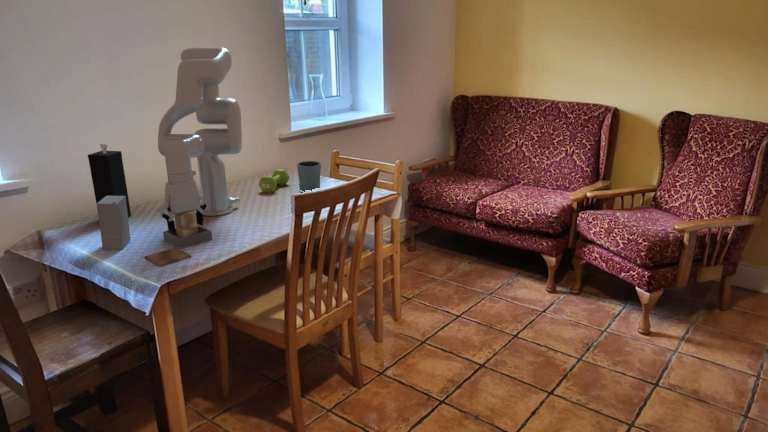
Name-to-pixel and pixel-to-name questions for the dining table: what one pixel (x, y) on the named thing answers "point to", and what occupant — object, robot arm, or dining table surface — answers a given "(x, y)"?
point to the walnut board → (167, 256)
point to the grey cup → (309, 175)
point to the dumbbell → (273, 180)
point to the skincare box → (113, 222)
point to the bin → (190, 240)
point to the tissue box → (108, 175)
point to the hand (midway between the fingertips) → (186, 228)
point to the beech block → (186, 224)
